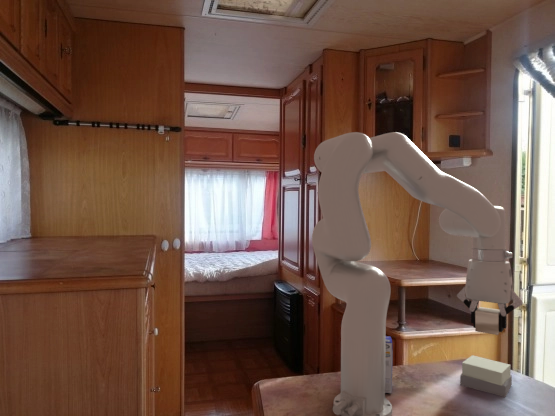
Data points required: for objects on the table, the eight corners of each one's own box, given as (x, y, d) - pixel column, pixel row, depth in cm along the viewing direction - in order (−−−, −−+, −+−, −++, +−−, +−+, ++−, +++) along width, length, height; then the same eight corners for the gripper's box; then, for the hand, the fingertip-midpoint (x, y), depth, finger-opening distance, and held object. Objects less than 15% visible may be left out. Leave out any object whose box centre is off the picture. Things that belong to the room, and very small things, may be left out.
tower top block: (501, 385, 96) (501, 373, 96) (462, 374, 103) (462, 362, 103) (510, 376, 101) (510, 364, 101) (472, 366, 108) (472, 355, 108)
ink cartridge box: (391, 384, 102) (391, 326, 102) (393, 394, 97) (393, 333, 97) (351, 380, 104) (351, 324, 104) (350, 390, 99) (351, 330, 99)
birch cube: (497, 335, 99) (497, 314, 99) (475, 331, 102) (475, 311, 102) (501, 329, 103) (501, 309, 103) (479, 326, 106) (479, 306, 106)
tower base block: (505, 399, 96) (505, 386, 96) (460, 387, 102) (460, 375, 102) (511, 387, 102) (511, 375, 102) (468, 376, 109) (468, 365, 109)
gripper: (530, 256, 100) (530, 331, 100) (456, 251, 110) (456, 319, 110) (526, 260, 94) (526, 339, 94) (448, 254, 104) (448, 326, 105)
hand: (488, 327), depth 102 cm, fingers closed on birch cube, 5 cm apart
